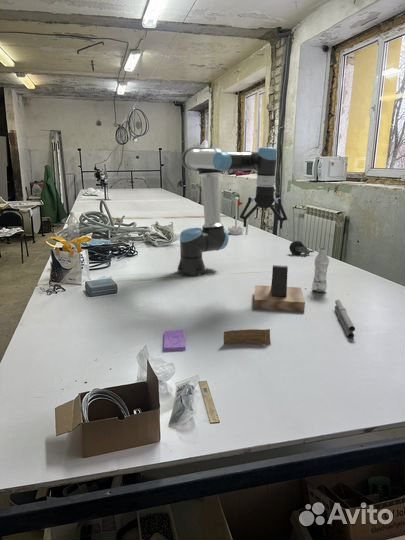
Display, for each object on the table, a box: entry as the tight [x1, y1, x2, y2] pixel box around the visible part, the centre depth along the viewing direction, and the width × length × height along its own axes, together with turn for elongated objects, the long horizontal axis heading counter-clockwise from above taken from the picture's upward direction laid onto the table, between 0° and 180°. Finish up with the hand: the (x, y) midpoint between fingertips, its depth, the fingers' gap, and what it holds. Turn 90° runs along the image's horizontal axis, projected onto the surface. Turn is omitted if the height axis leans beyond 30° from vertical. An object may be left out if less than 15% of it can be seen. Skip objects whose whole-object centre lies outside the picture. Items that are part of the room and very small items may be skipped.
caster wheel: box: [289, 240, 315, 257], centre depth 235 cm, size 6×10×15 cm
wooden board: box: [253, 284, 306, 313], centre depth 157 cm, size 20×18×4 cm
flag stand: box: [227, 196, 245, 236], centre depth 300 cm, size 13×13×30 cm
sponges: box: [163, 329, 187, 352], centre depth 123 cm, size 7×13×2 cm, turn 5°
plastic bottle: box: [311, 247, 330, 293], centre depth 168 cm, size 6×7×20 cm
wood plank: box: [223, 328, 272, 346], centre depth 121 cm, size 15×2×5 cm, turn 94°
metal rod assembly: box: [334, 299, 356, 339], centre depth 137 cm, size 26×3×5 cm, turn 171°
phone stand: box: [270, 264, 289, 297], centre depth 155 cm, size 9×6×12 cm, turn 171°
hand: (262, 235), depth 162 cm, fingers open, 13 cm apart
